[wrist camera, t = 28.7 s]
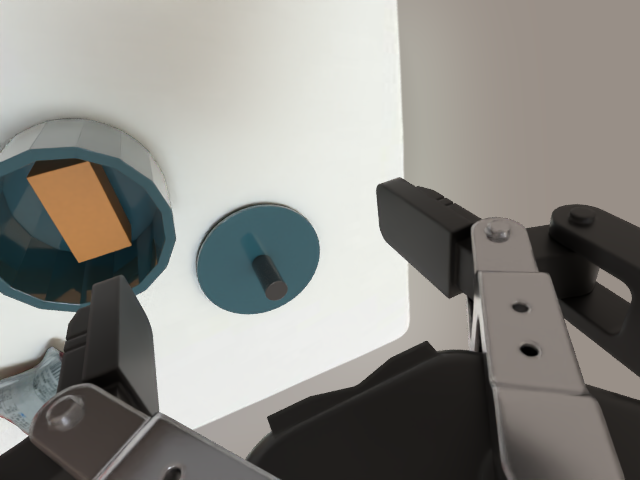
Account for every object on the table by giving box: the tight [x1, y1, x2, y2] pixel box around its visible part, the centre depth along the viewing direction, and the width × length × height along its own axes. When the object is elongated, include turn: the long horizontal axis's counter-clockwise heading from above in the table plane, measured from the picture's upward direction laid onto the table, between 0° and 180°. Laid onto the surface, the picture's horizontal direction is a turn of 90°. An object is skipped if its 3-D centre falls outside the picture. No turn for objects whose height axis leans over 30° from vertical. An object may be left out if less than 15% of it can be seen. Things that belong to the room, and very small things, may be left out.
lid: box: [197, 204, 320, 314], centre depth 44 cm, size 14×14×7 cm
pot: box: [0, 118, 176, 312], centre depth 32 cm, size 13×13×8 cm
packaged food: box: [0, 347, 64, 435], centre depth 42 cm, size 9×12×5 cm
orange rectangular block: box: [27, 158, 132, 263], centre depth 34 cm, size 8×4×4 cm, turn 9°
